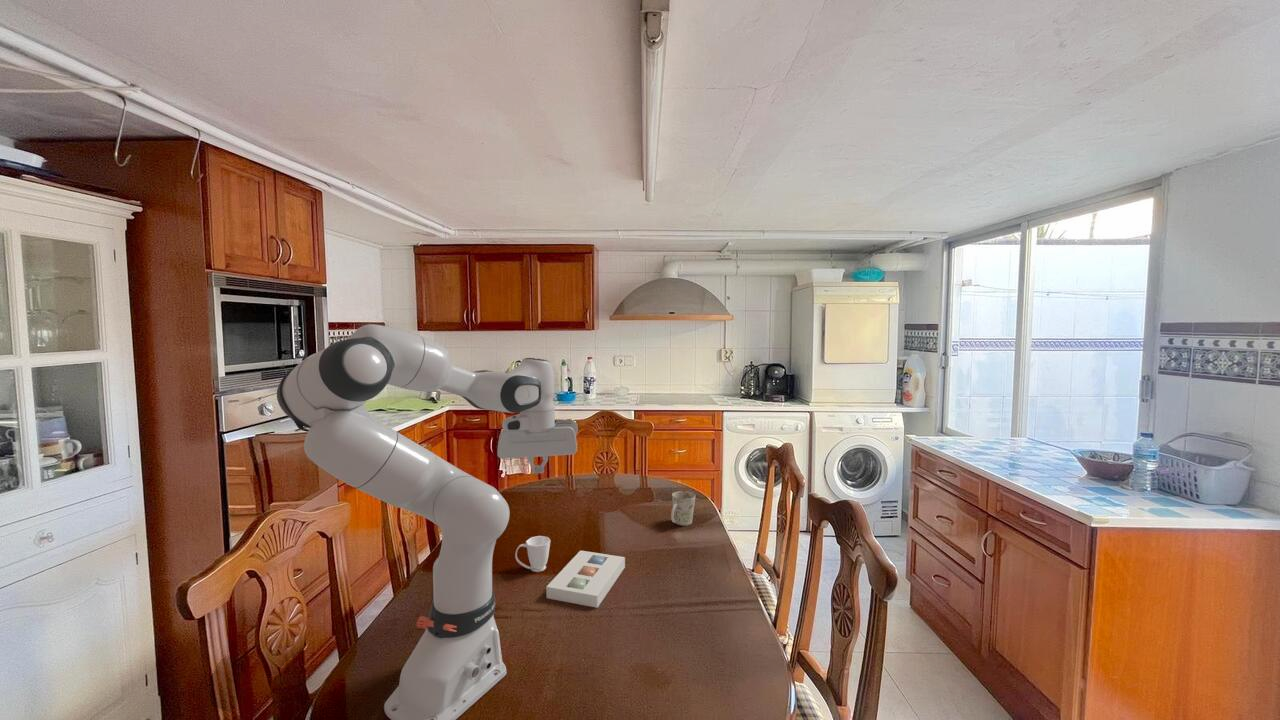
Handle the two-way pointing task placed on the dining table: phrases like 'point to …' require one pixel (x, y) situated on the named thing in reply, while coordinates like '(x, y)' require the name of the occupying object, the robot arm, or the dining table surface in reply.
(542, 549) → the cup
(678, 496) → the mug
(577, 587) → the sage button
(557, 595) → the button panel
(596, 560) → the slate button
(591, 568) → the terracotta button
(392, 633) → the dining table surface
